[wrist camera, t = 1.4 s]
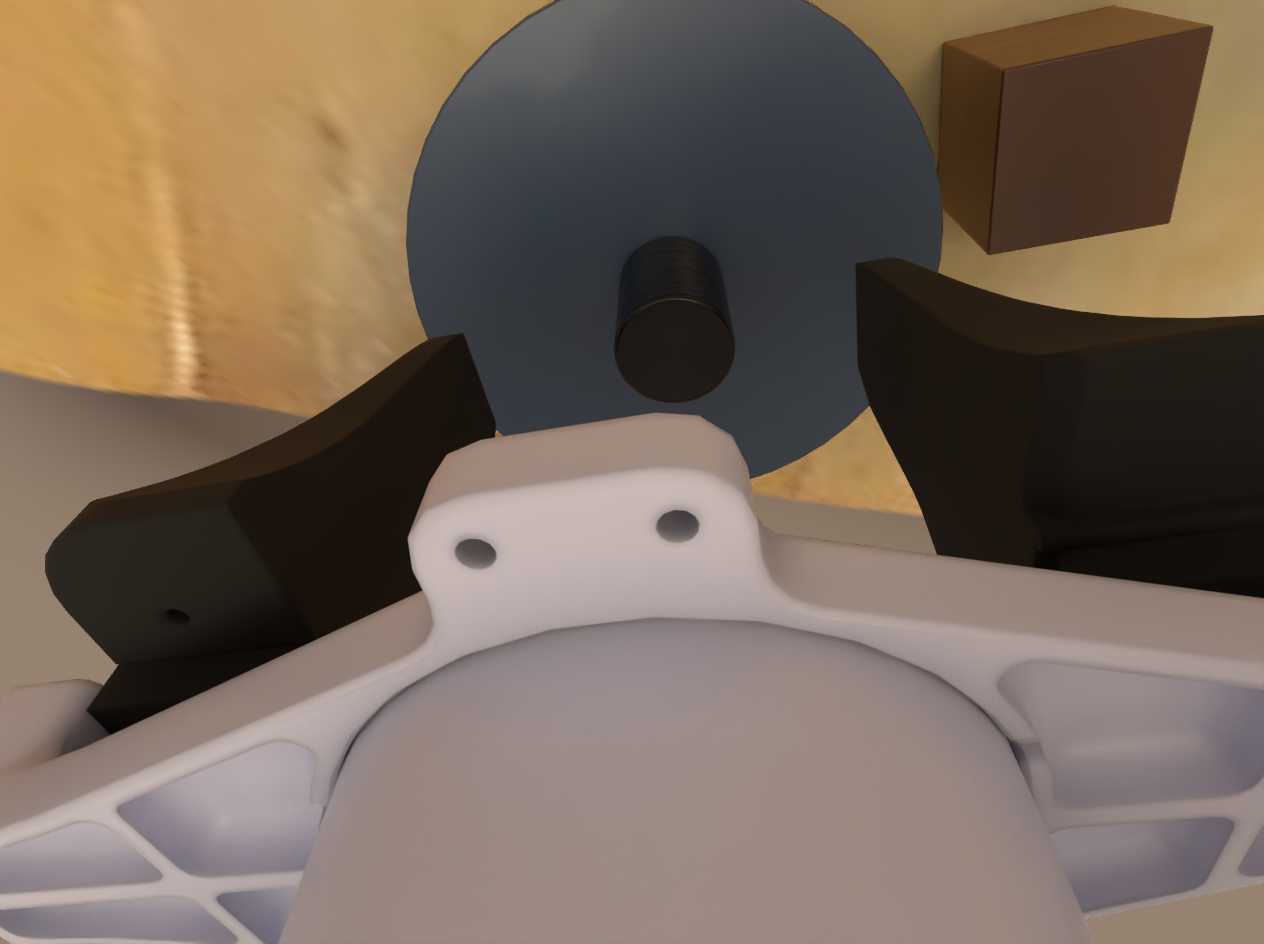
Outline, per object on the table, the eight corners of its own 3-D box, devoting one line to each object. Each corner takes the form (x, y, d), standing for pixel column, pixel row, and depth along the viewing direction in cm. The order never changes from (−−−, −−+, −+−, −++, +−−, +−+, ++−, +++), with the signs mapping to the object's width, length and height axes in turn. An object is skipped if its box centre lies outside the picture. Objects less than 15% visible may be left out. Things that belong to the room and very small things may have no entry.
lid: (1023, 26, 15) (1136, 60, 12) (835, 494, 22) (869, 603, 19) (411, -87, 14) (331, -87, 11) (422, 438, 21) (376, 542, 18)
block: (1115, 4, 19) (1216, 25, 16) (1089, 174, 21) (1170, 224, 18) (942, 41, 19) (1003, 69, 16) (936, 203, 22) (987, 256, 19)
